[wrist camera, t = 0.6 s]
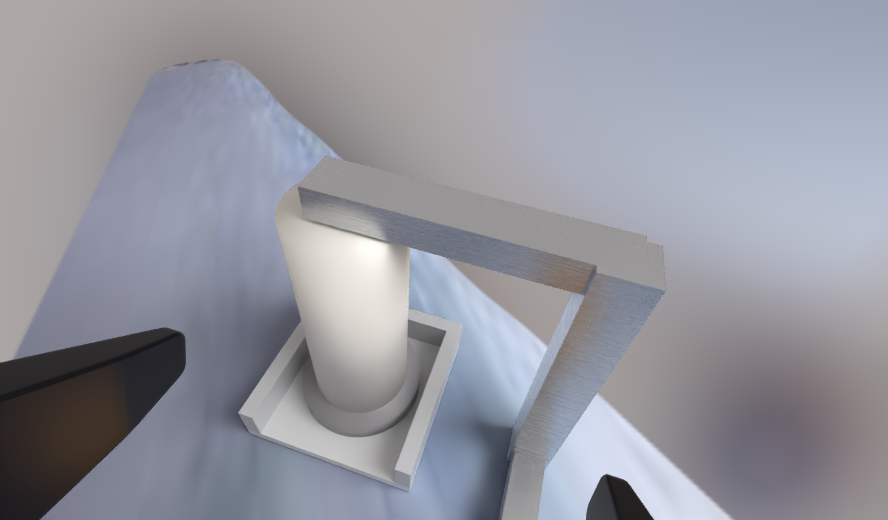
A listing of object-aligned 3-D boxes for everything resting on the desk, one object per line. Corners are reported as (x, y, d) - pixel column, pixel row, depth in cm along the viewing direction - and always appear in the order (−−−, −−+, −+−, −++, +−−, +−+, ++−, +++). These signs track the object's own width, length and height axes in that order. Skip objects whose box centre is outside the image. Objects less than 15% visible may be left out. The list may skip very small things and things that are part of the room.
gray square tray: (409, 492, 22) (410, 475, 21) (250, 433, 24) (238, 412, 22) (458, 347, 29) (462, 324, 27) (330, 307, 30) (325, 283, 28)
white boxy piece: (523, 755, 16) (764, 882, 6) (222, 620, 18) (-23, 525, 8) (561, 436, 25) (686, 246, 14) (354, 368, 27) (325, 155, 16)
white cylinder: (395, 454, 23) (394, 297, 14) (282, 414, 24) (210, 243, 15) (434, 352, 28) (453, 182, 18) (337, 322, 29) (309, 146, 19)
